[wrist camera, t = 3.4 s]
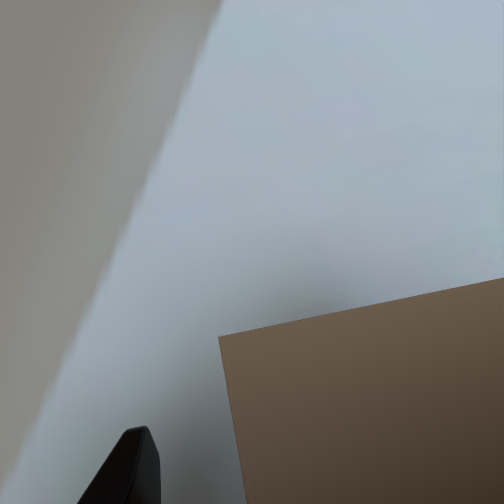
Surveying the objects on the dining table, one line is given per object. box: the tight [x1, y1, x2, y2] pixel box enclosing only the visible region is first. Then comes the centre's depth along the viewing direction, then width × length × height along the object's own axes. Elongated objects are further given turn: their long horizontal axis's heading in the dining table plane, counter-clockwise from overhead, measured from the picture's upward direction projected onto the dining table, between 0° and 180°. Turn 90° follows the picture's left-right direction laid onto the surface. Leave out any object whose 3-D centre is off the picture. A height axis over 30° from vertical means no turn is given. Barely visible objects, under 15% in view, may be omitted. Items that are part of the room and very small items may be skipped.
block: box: [218, 278, 504, 504], centre depth 9 cm, size 5×5×13 cm
